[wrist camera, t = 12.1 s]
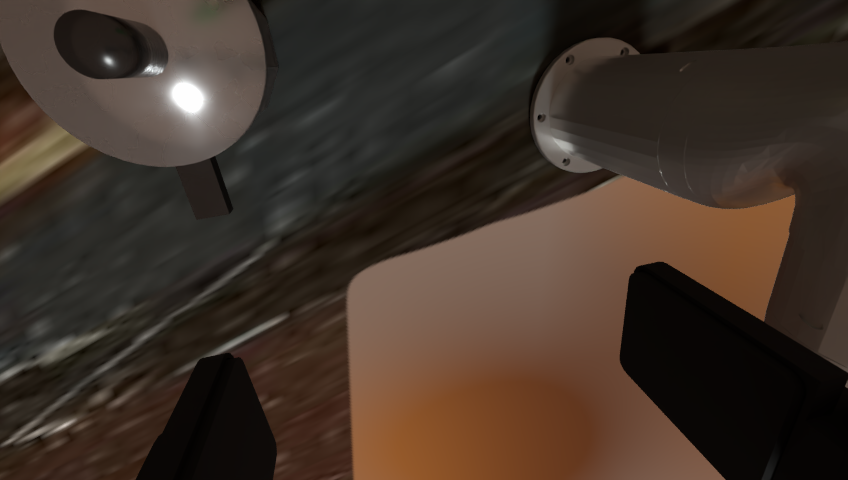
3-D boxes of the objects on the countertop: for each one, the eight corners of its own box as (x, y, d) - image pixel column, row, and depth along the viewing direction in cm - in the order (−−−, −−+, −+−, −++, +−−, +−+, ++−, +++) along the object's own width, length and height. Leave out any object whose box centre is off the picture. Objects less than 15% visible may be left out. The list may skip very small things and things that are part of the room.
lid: (227, -102, 22) (190, -158, 17) (292, 146, 28) (280, 165, 22) (-51, -81, 20) (-194, -136, 15) (80, 178, 26) (12, 207, 21)
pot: (21, -127, 26) (-105, -204, 18) (227, -140, 27) (185, -215, 20) (161, 202, 35) (115, 236, 28) (307, 178, 37) (298, 205, 30)
